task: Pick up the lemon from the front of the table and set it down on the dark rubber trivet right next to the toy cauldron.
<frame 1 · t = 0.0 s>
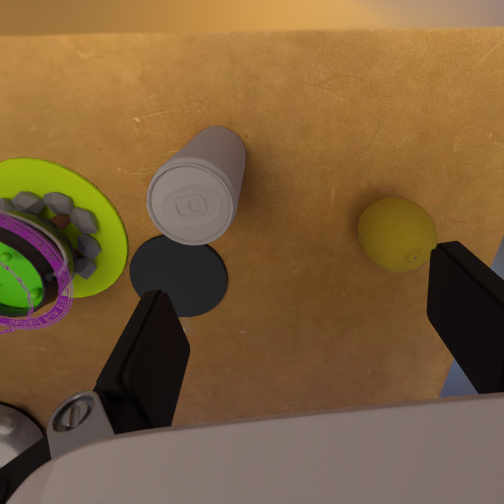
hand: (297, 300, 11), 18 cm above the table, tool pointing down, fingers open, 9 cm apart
beverage can: (218, 154, 27), on the table
trivet: (179, 276, 33), on the table
lemon: (377, 213, 29), on the table
dish: (1, 423, 47), on the table
toy cauldron: (52, 234, 31), on the table
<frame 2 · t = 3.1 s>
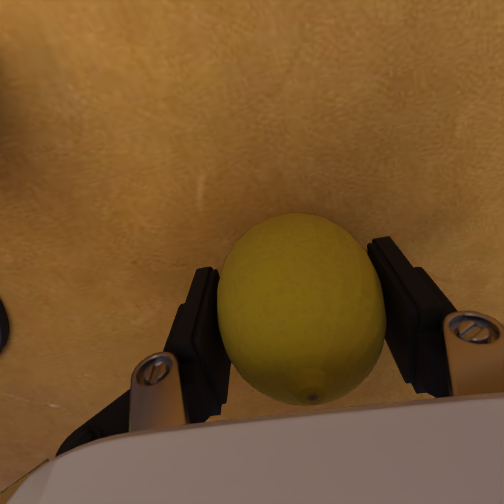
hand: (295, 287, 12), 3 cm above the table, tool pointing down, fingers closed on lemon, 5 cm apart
lemon: (288, 241, 15), on the table, touching gripper
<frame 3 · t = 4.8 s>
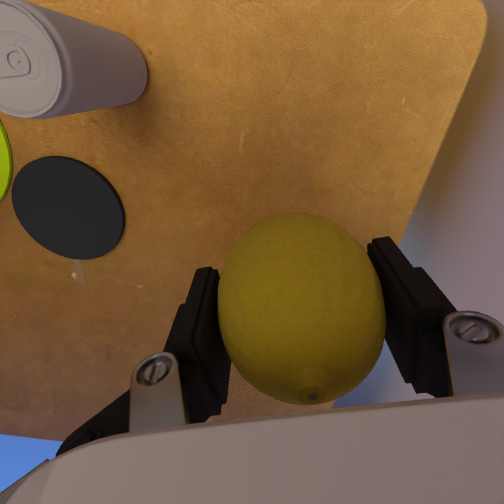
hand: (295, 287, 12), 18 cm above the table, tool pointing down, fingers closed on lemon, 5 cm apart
beverage can: (119, 69, 24), on the table
trivet: (71, 210, 30), on the table
lemon: (288, 241, 15), point 14 cm above the table, touching gripper
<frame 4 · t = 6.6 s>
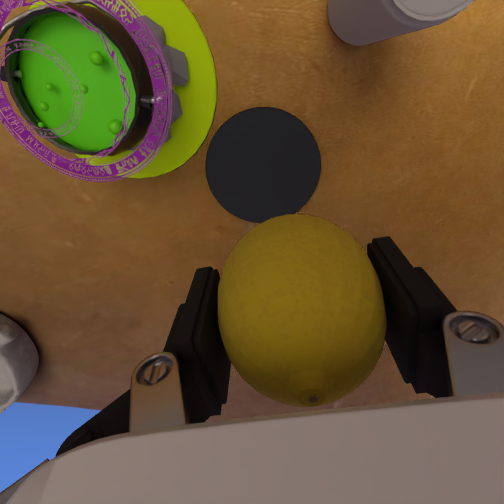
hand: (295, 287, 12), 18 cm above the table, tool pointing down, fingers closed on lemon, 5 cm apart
beverage can: (359, 6, 23), on the table
trivet: (262, 168, 28), on the table
lemon: (288, 242, 15), point 15 cm above the table, touching gripper
toy cauldron: (123, 84, 25), on the table
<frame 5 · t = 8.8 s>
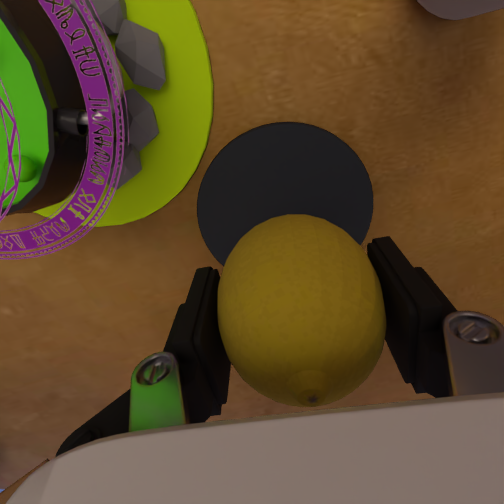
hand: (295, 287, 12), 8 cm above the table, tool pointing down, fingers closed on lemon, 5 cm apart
trivet: (283, 212, 19), on the table
lemon: (288, 242, 15), point 4 cm above the table, touching gripper
toy cauldron: (64, 86, 16), on the table
when the fingers open (4 cm above the table, at t = 10.2 s): lemon stays where it is, resting on trivet.
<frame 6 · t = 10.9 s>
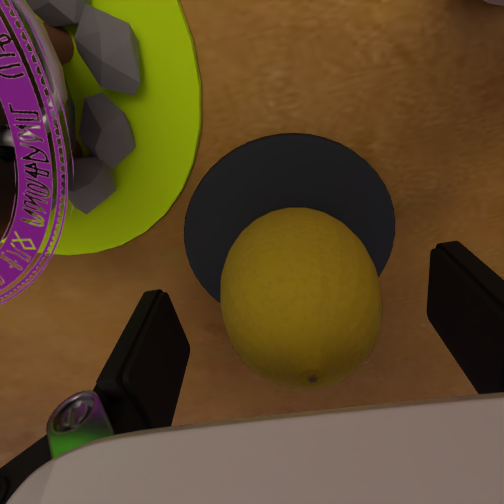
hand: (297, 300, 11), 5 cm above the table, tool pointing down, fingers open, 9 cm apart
trivet: (287, 239, 16), on the table
lemon: (288, 236, 15), resting on trivet
toy cauldron: (20, 90, 13), on the table
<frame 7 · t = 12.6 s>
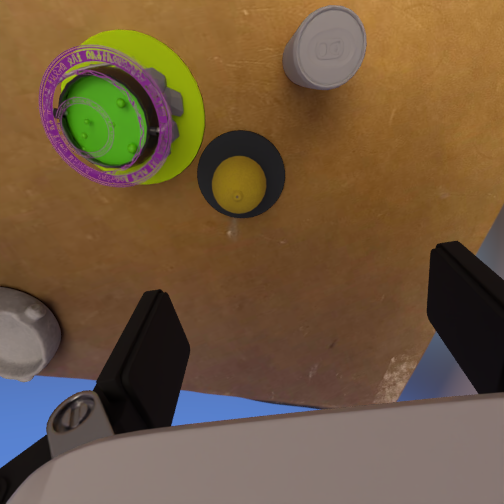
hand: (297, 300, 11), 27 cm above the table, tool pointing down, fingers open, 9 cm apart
beverage can: (306, 59, 31), on the table
trivet: (241, 176, 37), on the table
lemon: (241, 173, 36), resting on trivet
dish: (20, 319, 48), on the table
toy cauldron: (135, 114, 34), on the table
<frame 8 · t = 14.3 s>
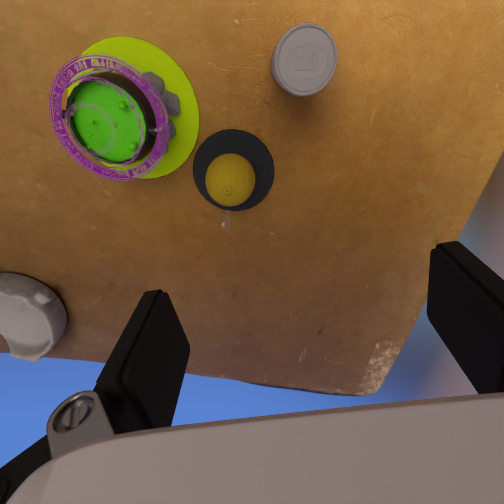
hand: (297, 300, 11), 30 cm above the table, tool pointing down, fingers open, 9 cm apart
beverage can: (292, 64, 34), on the table
trivet: (233, 171, 40), on the table
lemon: (233, 169, 39), resting on trivet
dish: (29, 303, 51), on the table
toy cauldron: (135, 114, 37), on the table
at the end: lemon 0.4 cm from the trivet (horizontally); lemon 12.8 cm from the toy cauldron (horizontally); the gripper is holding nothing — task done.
